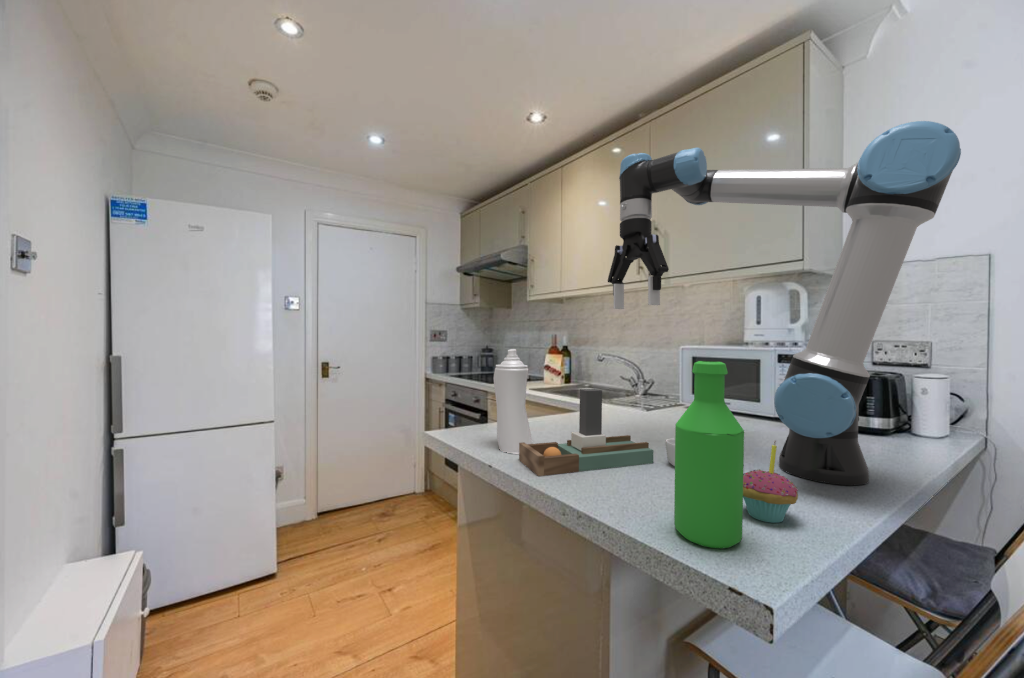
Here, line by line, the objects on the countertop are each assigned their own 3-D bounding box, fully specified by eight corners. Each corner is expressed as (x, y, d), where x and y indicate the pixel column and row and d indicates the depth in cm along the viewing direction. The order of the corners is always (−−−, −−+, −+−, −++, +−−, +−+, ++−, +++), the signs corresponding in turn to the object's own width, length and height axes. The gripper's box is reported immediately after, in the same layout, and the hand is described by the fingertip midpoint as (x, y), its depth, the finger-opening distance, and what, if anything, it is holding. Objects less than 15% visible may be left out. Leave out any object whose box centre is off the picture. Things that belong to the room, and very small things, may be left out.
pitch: (653, 463, 92) (653, 449, 92) (578, 471, 86) (578, 457, 86) (624, 450, 103) (624, 438, 103) (555, 456, 96) (555, 444, 96)
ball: (553, 471, 88) (567, 460, 89) (544, 457, 87) (559, 445, 88) (546, 466, 92) (559, 455, 93) (537, 452, 91) (551, 441, 92)
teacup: (665, 469, 88) (666, 444, 88) (664, 459, 95) (664, 436, 95) (717, 475, 85) (717, 449, 85) (711, 464, 92) (712, 440, 92)
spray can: (482, 450, 101) (484, 349, 101) (500, 440, 111) (501, 348, 111) (526, 456, 97) (528, 350, 97) (541, 445, 107) (542, 349, 107)
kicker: (605, 448, 92) (606, 390, 92) (581, 451, 90) (582, 391, 90) (594, 443, 96) (594, 388, 96) (571, 445, 94) (571, 388, 94)
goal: (578, 471, 86) (579, 452, 86) (538, 476, 83) (538, 456, 83) (555, 456, 97) (555, 439, 97) (519, 460, 94) (519, 442, 93)
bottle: (750, 537, 59) (753, 362, 58) (729, 559, 52) (732, 364, 52) (688, 517, 65) (690, 359, 65) (663, 535, 59) (665, 361, 59)
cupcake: (756, 502, 71) (757, 433, 71) (810, 522, 63) (811, 445, 63) (724, 511, 67) (725, 438, 67) (777, 534, 60) (779, 451, 59)
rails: (648, 447, 94) (648, 442, 94) (583, 454, 88) (583, 448, 88) (628, 439, 101) (628, 435, 101) (566, 445, 96) (567, 440, 96)
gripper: (594, 231, 111) (594, 310, 111) (658, 203, 88) (657, 302, 88) (618, 234, 114) (617, 310, 114) (685, 207, 91) (685, 303, 90)
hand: (635, 307), depth 101 cm, fingers open, 13 cm apart
